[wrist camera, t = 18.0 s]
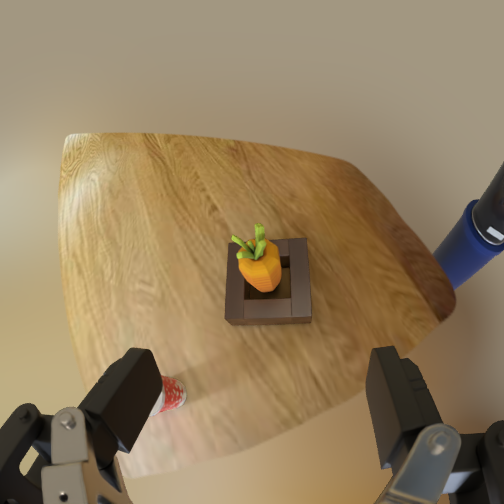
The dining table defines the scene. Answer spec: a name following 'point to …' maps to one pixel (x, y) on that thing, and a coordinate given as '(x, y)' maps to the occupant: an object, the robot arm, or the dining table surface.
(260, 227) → the carrot
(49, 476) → the robot arm
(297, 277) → the socket block
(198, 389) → the dining table surface
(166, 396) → the beverage cup
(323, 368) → the dining table surface
